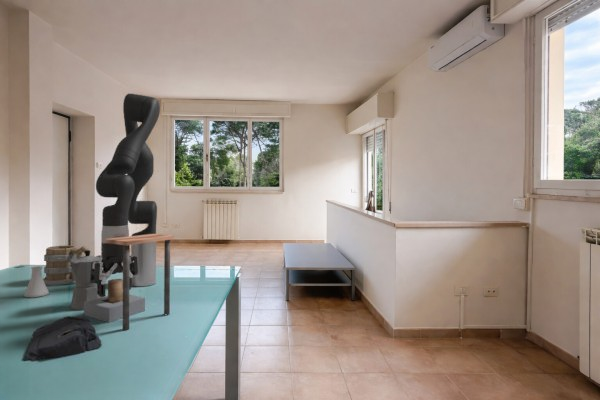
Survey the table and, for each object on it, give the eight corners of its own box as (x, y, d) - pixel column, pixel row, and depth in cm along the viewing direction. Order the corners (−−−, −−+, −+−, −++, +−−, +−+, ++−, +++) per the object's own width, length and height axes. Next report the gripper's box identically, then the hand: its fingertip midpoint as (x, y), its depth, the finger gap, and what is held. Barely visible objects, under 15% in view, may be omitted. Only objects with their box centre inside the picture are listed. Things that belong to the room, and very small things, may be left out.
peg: (105, 313, 112) (105, 280, 112) (116, 310, 116) (117, 278, 115) (113, 315, 110) (113, 282, 110) (125, 312, 114) (125, 279, 114)
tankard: (35, 283, 146) (35, 245, 146) (66, 276, 158) (66, 241, 158) (70, 289, 139) (70, 249, 138) (100, 281, 151) (100, 245, 150)
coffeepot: (80, 313, 112) (81, 254, 111) (57, 310, 115) (57, 252, 114) (119, 299, 126) (120, 247, 126) (98, 296, 129) (98, 245, 129)
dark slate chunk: (97, 323, 106) (97, 306, 106) (102, 352, 87) (102, 332, 87) (31, 333, 98) (31, 315, 98) (21, 367, 79) (21, 345, 79)
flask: (53, 294, 132) (53, 266, 132) (31, 299, 125) (31, 270, 125) (41, 291, 135) (41, 264, 135) (19, 296, 128) (19, 267, 128)
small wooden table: (104, 325, 103) (105, 239, 102) (152, 309, 117) (152, 233, 116) (126, 331, 98) (126, 241, 98) (172, 314, 112) (173, 235, 112)
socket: (83, 315, 110) (83, 301, 110) (119, 304, 121) (120, 292, 121) (109, 322, 105) (109, 308, 105) (144, 310, 115) (145, 298, 115)
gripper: (127, 236, 120) (127, 286, 121) (84, 241, 108) (84, 296, 108) (143, 238, 117) (143, 289, 117) (100, 243, 104) (100, 300, 105)
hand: (115, 292), depth 113 cm, fingers open, 8 cm apart
